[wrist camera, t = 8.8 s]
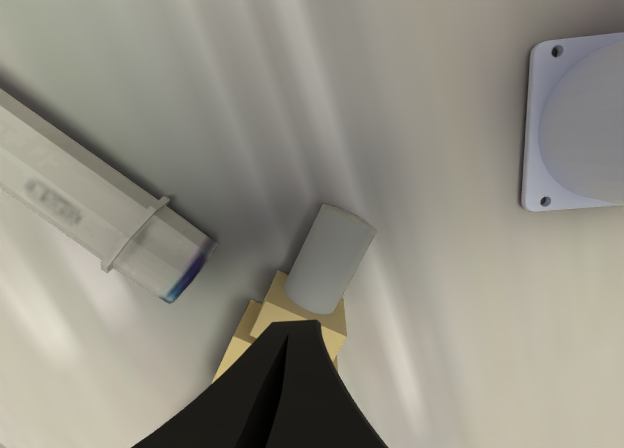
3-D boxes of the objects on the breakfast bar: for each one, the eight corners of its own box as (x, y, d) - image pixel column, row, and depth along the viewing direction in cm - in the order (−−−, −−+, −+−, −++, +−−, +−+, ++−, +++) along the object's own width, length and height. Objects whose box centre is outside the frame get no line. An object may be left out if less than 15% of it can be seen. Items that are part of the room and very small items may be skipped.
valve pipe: (300, 189, 18) (293, 202, 14) (393, 232, 18) (409, 256, 15) (181, 452, 23) (152, 512, 19) (256, 482, 23) (242, 547, 19)
